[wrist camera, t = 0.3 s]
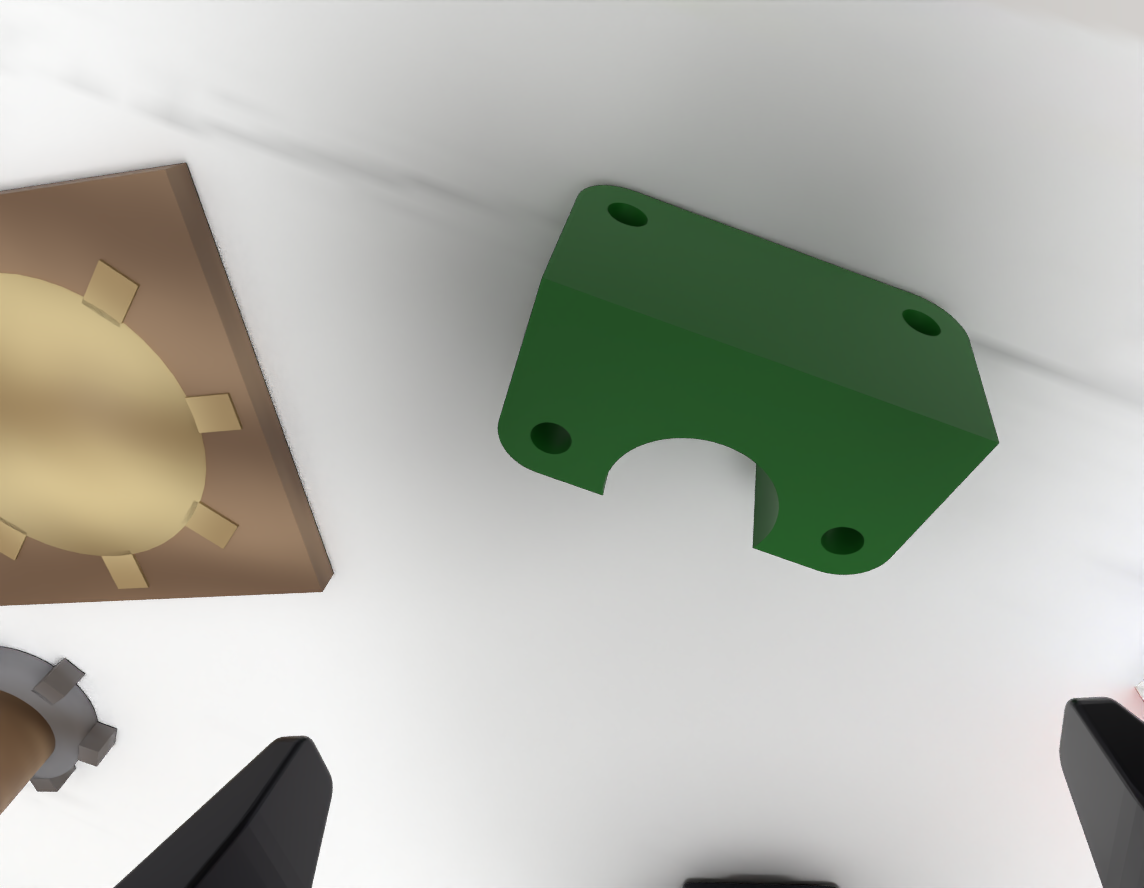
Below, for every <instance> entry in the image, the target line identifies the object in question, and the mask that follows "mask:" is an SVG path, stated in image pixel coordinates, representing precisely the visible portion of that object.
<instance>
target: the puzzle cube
mask: <svg viewBox="0 0 1144 888" xmlns="http://www.w3.org/2000/svg"><path fill="white" fill-rule="evenodd" d="M1135 689H1136V690H1137V692H1138V693H1139V695H1140V696H1141V698H1142V699H1143V701H1144V680H1143V681H1142V682H1140V683H1139V684H1138V685H1137V686H1135Z"/></svg>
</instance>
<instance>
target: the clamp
mask: <svg viewBox="0 0 1144 888" xmlns="http://www.w3.org/2000/svg"><path fill="white" fill-rule="evenodd" d="M498 435H499V438H500V441H501V443H502V445H503V447H504V449H505V450H506V452H507V453H508V454H509V455H510V456H511V457H512V458H513V459H514V460H515V461H517V462H518V463H519V464H521V465H522V466H524V467H526V468H528V469H530V470H532V471H535V472H537V473H540V474H543V475H546V476H549V477H552V478H554V479H557V480H560V481H563V482H566V483H569V484H572V485H574V486H577V487H580V488H583V489H586V490H589V491H592V492H594V493H597V494H600V495H603V492H604V488H605V484H606V480H607V475H608V472H609V470H610V469H611V467H612V466H613V465H614V463H615V462H616V461H617V460H618V459H619V458H621V457H622V456H623V455H624V454H626V453H627V452H629V451H630V450H632V449H634V448H636V447H638V446H641V445H643V444H646V443H649V442H653V441H657V440H662V439H670V438H694V439H701V440H707V441H711V442H715V443H719V444H722V445H725V446H727V447H730V448H732V449H734V450H736V451H738V452H740V453H742V454H744V455H745V456H747V457H749V458H750V459H751V460H753V461H754V462H755V463H756V482H755V505H754V529H753V548H755V549H758V550H760V551H763V552H766V553H769V554H772V555H775V556H778V557H780V558H783V559H786V560H789V561H792V562H795V563H798V564H800V565H803V566H806V567H809V568H812V569H815V570H818V571H821V572H825V573H830V574H838V575H850V574H858V573H863V572H866V571H870V570H872V569H875V568H877V567H879V566H881V565H882V564H884V563H885V562H886V561H888V560H889V559H890V558H891V557H892V556H893V555H894V554H895V552H896V551H897V550H898V549H899V548H900V547H901V546H902V545H903V544H904V543H905V542H906V541H907V540H908V539H909V538H910V537H911V536H912V535H913V533H914V532H915V531H916V530H917V529H918V528H919V527H920V526H921V525H922V524H923V523H924V522H925V521H926V520H927V519H928V518H929V517H930V516H931V514H932V513H933V512H934V511H935V510H936V509H937V508H938V507H939V506H940V505H941V504H942V503H943V502H944V501H945V500H946V499H947V498H948V497H949V495H950V494H951V493H952V492H953V491H954V490H955V489H956V488H957V487H958V486H959V485H960V484H961V483H962V482H963V481H964V480H965V479H966V478H967V476H968V475H969V474H970V473H971V472H972V471H973V470H974V469H975V468H976V467H977V466H978V465H979V464H980V463H981V462H982V461H983V460H984V459H985V457H986V456H987V455H988V454H989V453H990V452H991V451H992V450H993V449H994V448H995V447H996V446H997V445H998V444H999V440H998V437H997V433H996V430H995V427H994V423H993V420H992V416H991V413H990V409H989V406H988V402H987V399H986V396H985V392H984V389H983V385H982V382H981V378H980V375H979V371H978V368H977V365H976V361H975V358H974V354H973V351H972V347H971V344H970V340H969V338H968V335H967V333H966V332H965V330H964V329H963V328H962V326H961V325H960V324H959V323H958V322H957V321H956V320H955V319H954V318H953V317H952V316H951V315H949V314H948V313H947V312H946V311H944V310H943V309H941V308H940V307H938V306H937V305H935V304H933V303H932V302H930V301H928V300H926V299H924V298H921V297H919V296H917V295H914V294H911V293H909V292H906V291H903V290H900V289H898V288H895V287H892V286H890V285H887V284H884V283H881V282H879V281H876V280H873V279H871V278H868V277H865V276H863V275H860V274H857V273H854V272H852V271H849V270H846V269H844V268H841V267H838V266H835V265H833V264H830V263H827V262H825V261H822V260H819V259H816V258H814V257H811V256H808V255H806V254H803V253H800V252H798V251H795V250H792V249H789V248H787V247H784V246H781V245H779V244H776V243H773V242H770V241H768V240H765V239H762V238H760V237H757V236H754V235H752V234H749V233H746V232H743V231H741V230H738V229H735V228H733V227H730V226H727V225H724V224H722V223H719V222H716V221H714V220H711V219H708V218H706V217H703V216H700V215H697V214H695V213H692V212H689V211H687V210H684V209H681V208H678V207H676V206H673V205H670V204H668V203H665V202H662V201H660V200H657V199H654V198H651V197H649V196H646V195H643V194H641V193H638V192H635V191H632V190H629V189H626V188H622V187H617V186H609V185H598V186H592V187H588V188H586V189H584V190H582V191H581V192H580V193H579V195H578V196H577V199H576V201H575V203H574V206H573V208H572V210H571V212H570V215H569V217H568V219H567V222H566V224H565V226H564V228H563V231H562V233H561V235H560V238H559V240H558V242H557V244H556V247H555V249H554V251H553V254H552V256H551V258H550V260H549V263H548V265H547V267H546V270H545V272H544V274H543V276H542V279H541V283H540V286H539V289H538V293H537V296H536V299H535V303H534V306H533V309H532V313H531V316H530V319H529V322H528V326H527V329H526V332H525V336H524V339H523V342H522V346H521V349H520V352H519V356H518V359H517V362H516V366H515V369H514V372H513V376H512V379H511V382H510V385H509V389H508V392H507V395H506V399H505V402H504V405H503V409H502V412H501V415H500V419H499V423H498Z"/></svg>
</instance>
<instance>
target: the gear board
mask: <svg viewBox="0 0 1144 888" xmlns="http://www.w3.org/2000/svg"><path fill="white" fill-rule="evenodd" d="M332 576H333V571H332V568H331V565H330V562H329V560H328V557H327V554H326V551H325V549H324V546H323V543H322V540H321V537H320V535H319V532H318V529H317V526H316V523H315V521H314V518H313V515H312V512H311V510H310V507H309V504H308V501H307V498H306V496H305V493H304V490H303V487H302V485H301V482H300V479H299V476H298V473H297V471H296V468H295V465H294V462H293V459H292V457H291V454H290V451H289V448H288V446H287V443H286V440H285V437H284V434H283V432H282V429H281V426H280V423H279V421H278V418H277V415H276V412H275V409H274V407H273V404H272V401H271V398H270V395H269V393H268V390H267V387H266V384H265V382H264V379H263V376H262V373H261V370H260V368H259V365H258V362H257V359H256V356H255V354H254V351H253V348H252V345H251V343H250V340H249V337H248V334H247V331H246V329H245V326H244V323H243V320H242V318H241V315H240V312H239V309H238V306H237V304H236V301H235V298H234V295H233V292H232V290H231V287H230V284H229V281H228V279H227V276H226V273H225V270H224V267H223V265H222V262H221V259H220V256H219V254H218V251H217V248H216V245H215V242H214V240H213V237H212V234H211V231H210V228H209V226H208V223H207V220H206V217H205V215H204V212H203V209H202V206H201V203H200V201H199V198H198V195H197V192H196V190H195V187H194V184H193V181H192V178H191V176H190V173H189V170H188V167H187V164H186V163H181V164H174V165H168V166H161V167H155V168H148V169H142V170H135V171H129V172H122V173H116V174H109V175H103V176H96V177H90V178H83V179H77V180H70V181H63V182H57V183H50V184H44V185H37V186H31V187H24V188H18V189H11V190H5V191H0V606H7V605H30V604H53V603H76V602H100V601H123V600H146V599H169V598H192V597H216V596H239V595H262V594H285V593H308V592H323V590H324V588H325V587H326V585H327V584H328V582H329V580H330V579H331V577H332Z"/></svg>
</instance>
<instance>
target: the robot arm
mask: <svg viewBox="0 0 1144 888" xmlns="http://www.w3.org/2000/svg"><path fill="white" fill-rule="evenodd" d="M1059 753H1060V761H1061V766H1062V770H1063V773H1064V776H1065V779H1066V782H1067V785H1068V788H1069V791H1070V793H1071V796H1072V799H1073V802H1074V805H1075V808H1076V811H1077V814H1078V816H1079V819H1080V822H1081V825H1082V828H1083V831H1084V834H1085V837H1086V840H1087V842H1088V845H1089V848H1090V851H1091V854H1092V857H1093V860H1094V863H1095V865H1096V868H1097V871H1098V874H1099V877H1100V880H1101V883H1102V886H1103V888H1144V722H1143V721H1142V720H1140V719H1139V718H1138V717H1136V716H1135V715H1134V714H1133V713H1131V712H1130V711H1129V710H1127V709H1126V708H1125V707H1123V706H1122V705H1121V704H1120V703H1118V702H1117V701H1115V700H1113V699H1111V698H1108V697H1089V698H1073V699H1070V700H1069V701H1068V702H1067V703H1066V706H1065V710H1064V718H1063V725H1062V733H1061V740H1060V748H1059ZM332 789H333V785H332V779H331V775H330V773H329V771H328V769H327V767H326V765H325V763H324V761H323V759H322V757H321V755H320V753H319V752H318V750H317V748H316V746H315V744H314V742H313V741H312V739H310V738H309V737H307V736H287V737H280V738H278V739H276V740H274V741H273V742H272V743H271V744H269V745H268V746H267V747H266V748H265V749H264V750H263V751H262V752H261V753H260V754H259V755H257V756H256V757H255V758H254V759H253V760H252V761H251V762H250V763H249V764H248V765H247V766H246V767H244V768H243V769H242V770H241V771H240V772H239V773H238V774H237V775H236V776H235V777H234V778H232V779H231V780H230V781H229V782H228V783H227V784H226V785H225V786H224V787H223V788H222V789H220V790H219V791H218V792H217V793H216V794H215V795H214V796H213V797H212V798H211V799H210V800H209V801H207V802H206V803H205V804H204V805H203V806H202V807H201V808H200V809H199V810H198V811H197V812H195V813H194V814H193V815H192V816H191V817H190V818H189V819H188V820H187V821H186V822H185V823H183V824H182V825H181V826H180V827H179V828H178V829H177V830H176V831H175V832H174V833H173V834H172V835H170V836H169V837H168V838H167V839H166V840H165V841H164V842H163V843H162V844H161V845H160V846H158V847H157V848H156V849H155V850H154V851H153V852H152V853H151V854H150V855H149V856H148V857H146V858H145V859H144V860H143V861H142V862H141V863H140V864H139V865H138V866H137V867H136V868H135V869H133V870H132V871H131V872H130V873H129V874H128V875H127V876H126V877H125V878H124V879H123V880H121V881H120V882H119V883H118V884H117V885H116V886H115V887H114V888H312V883H313V879H314V874H315V870H316V865H317V861H318V856H319V852H320V847H321V843H322V838H323V834H324V829H325V825H326V820H327V816H328V811H329V807H330V802H331V798H332ZM683 888H835V887H831V886H804V885H765V884H726V883H688V884H685V885H684V886H683Z"/></svg>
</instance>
